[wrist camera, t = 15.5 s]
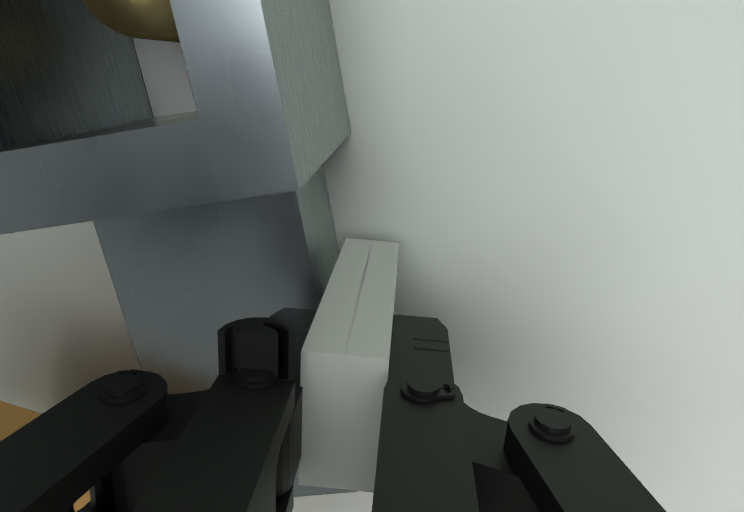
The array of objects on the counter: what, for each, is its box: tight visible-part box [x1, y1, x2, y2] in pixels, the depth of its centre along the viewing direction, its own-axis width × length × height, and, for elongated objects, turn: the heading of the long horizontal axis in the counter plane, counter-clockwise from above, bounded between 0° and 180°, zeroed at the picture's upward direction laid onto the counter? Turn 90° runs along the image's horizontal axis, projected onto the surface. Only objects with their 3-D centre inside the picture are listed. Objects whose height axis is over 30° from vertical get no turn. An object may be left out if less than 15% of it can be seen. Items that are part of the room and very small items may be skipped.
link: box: [0, 0, 358, 497], centre depth 13 cm, size 16×7×8 cm, turn 9°
